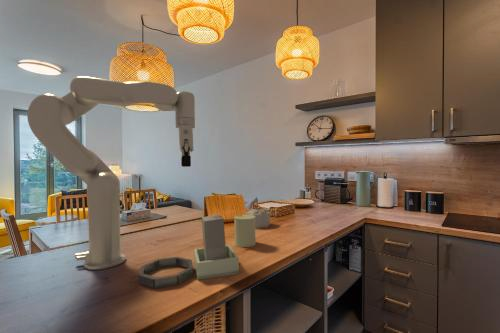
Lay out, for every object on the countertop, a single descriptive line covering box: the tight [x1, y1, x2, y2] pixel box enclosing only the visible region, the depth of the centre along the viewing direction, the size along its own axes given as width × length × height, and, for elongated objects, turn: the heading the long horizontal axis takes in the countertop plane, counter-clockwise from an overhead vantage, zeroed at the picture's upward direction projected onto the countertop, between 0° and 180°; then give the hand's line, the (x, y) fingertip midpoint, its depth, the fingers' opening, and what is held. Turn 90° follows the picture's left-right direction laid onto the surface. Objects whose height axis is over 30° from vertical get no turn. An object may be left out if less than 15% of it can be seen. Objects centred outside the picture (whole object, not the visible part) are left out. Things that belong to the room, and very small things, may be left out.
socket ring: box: [137, 256, 194, 289], centre depth 76 cm, size 15×15×2 cm
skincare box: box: [201, 214, 226, 261], centre depth 81 cm, size 8×7×16 cm
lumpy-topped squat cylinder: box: [245, 208, 271, 229], centre depth 136 cm, size 10×13×9 cm
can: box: [233, 214, 257, 248], centre depth 105 cm, size 9×9×12 cm
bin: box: [193, 244, 240, 281], centre depth 80 cm, size 13×13×5 cm
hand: (185, 166), depth 99 cm, fingers open, 9 cm apart
